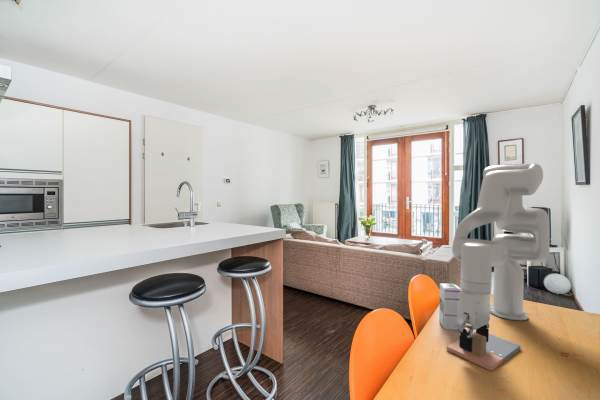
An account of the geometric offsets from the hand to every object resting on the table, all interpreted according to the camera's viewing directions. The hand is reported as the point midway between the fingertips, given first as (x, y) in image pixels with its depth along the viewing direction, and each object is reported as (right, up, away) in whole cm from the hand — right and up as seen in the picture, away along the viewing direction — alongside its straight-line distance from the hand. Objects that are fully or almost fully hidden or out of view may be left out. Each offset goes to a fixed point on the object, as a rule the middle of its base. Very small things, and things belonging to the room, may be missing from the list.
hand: (474, 344), depth 82 cm
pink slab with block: (0, -3, 0) cm, 3 cm away
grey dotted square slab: (+8, -3, +6) cm, 11 cm away
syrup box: (+3, -3, +19) cm, 19 cm away
